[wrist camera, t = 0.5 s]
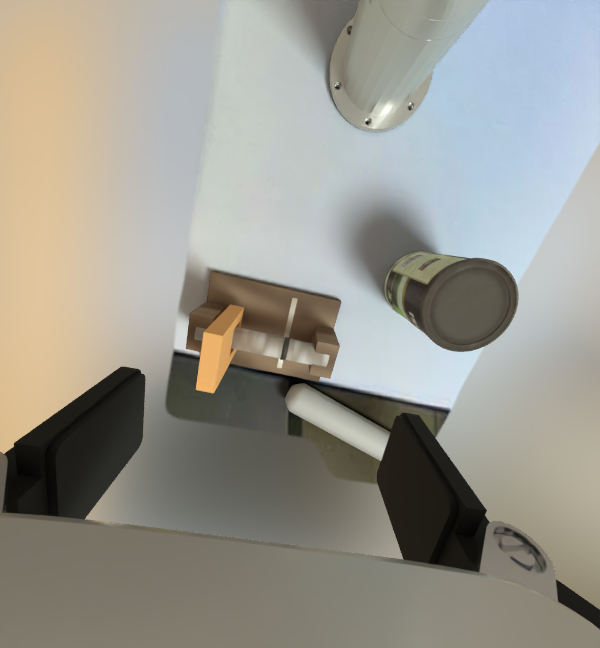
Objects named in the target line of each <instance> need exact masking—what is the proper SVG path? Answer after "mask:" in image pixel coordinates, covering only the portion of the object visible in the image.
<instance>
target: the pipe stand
mask: <svg viewBox="0 0 600 648" xmlns="http://www.w3.org/2000/svg"><path fill="white" fill-rule="evenodd" d="M230 304H231V305H235V306H240V307H244V311H243V317H242V322H241V328H239V327H235V329H234V333H233V339H232V345H231V348H232V349H236V350H237V351H236V353H235V354H234V356H233V358H232V360H231V362H230V363H231V364H236V365H241V366H246V367H251V368H255V369H260V370H265V371H270V372H275V373H280V374H285V375H289V376H294V377H299V378H304V379H309V380H314V381H319V379H320V377H325V378H330V377H331V374H332V371H333V367H334V364H335V360H336V357H337V354H338V350H339V347H340V345H339V343H338V340H337V337H336V334H335V332H334V326H335V323H336V319H337V315H338V312H339V308H340V305H341V301H340V300H337V299H332V298H328V297H324V296H319V295H315V294H311V293H306V292H302V291H297V290H293V289H289V288H284V287H280V286H276V285H271V284H267V283H262V282H258V281H254V280H249V279H245V278H240V277H236V276H232V275H227V274H223V273H219V272H214V271H213V272H211V274H210V282H209V289H208V297H207V302H205V303H204V304H203V305H201V306H200V307H198V308H197V309H196V310H194V311H193V312H192V313H190V318H189V326H188V335H187V343H186V349H190V350H194V351H199V352H200V356H201V348H202V341H203V334H204V331H205V330H206V329H207V328H208V327H209V326H210V325H211V324H212V323H213V322H214V321H215V320H216V319H217V318H218V317H219V316H220V315H221V314H222V313H223V312H224V311H225V310H226V308H227V307H228V306H229V305H230ZM200 356H199V357H200Z"/></svg>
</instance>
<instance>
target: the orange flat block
mask: <svg viewBox="0 0 600 648" xmlns="http://www.w3.org/2000/svg"><path fill="white" fill-rule="evenodd" d="M243 311H244V307H240V306H235V305H231V304H230V305H229V306H228V307H227V308H226V310H225V311H224V312H223V313H222V314H221V315H220V316H219V317H218V318H217V319H216V320H215V321H214V322H213V323H212V324H211V325H210V326H209V327H208V328H207V329H206V330H205V331H204V334H203V341H202V348H201V356H200V363H199V370H198V378H197V385H196V390H200V391H205V392H210V393H214V392H215V390H216V388H217V386H218V384H219V383H220V381H221V379H222V377H223V375H224V373H225V371H226V369H227V368H228V366H229V364H230V362H231V360H232V358H233V356H234V354H235V353H236V351H237V350H236V349H232V348H231V345H232V339H233V333H234V329H235V327H239V328H241V322H242V317H243Z"/></svg>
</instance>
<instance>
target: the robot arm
mask: <svg viewBox="0 0 600 648" xmlns="http://www.w3.org/2000/svg"><path fill="white" fill-rule="evenodd" d="M489 1H490V0H359V3H358V7H357V11H356V15H355V16H354V17H353V18H352V19H351V20H350V21H349V22H348V23H347V24H346V25H345V27H344V28H343V30H342V31H341V32H340V34H339V37H338V39H337V41H336V43H335V46H334V49H333V52H332V56H331V62H330V71H329V80H330V89H331V93H332V97H333V100H334V102H335V104H336V106H337V109H338V110H339V111H340V113H341V114H342V116H343V117H344V118H345V119H346V120H347V121H348V122H349V123H350V124H352V125H354V126H355V127H357V128H359V129H361V130H364V131H368V132H383V131H387V130H390V129H393V128H395V127H397V126H399V125H400V124H402V123H404V122H405V121H406V120H407V119H408V118H409V117H410V116H411V115H412V114H413V113H414V112H415V111H416V110H417V109H418V107H419V106H420V104H421V103H422V101H423V100H424V98H425V96H426V93H427V91H428V89H429V86H430V83H431V79H432V73H433V69H434V68H435V67H436V66H437V64H438V63H439V62H440V61H441V60H442V58H443V57H444V56H445V55H446V53H447V52H448V51H449V50H450V49H451V47H452V46H453V45H454V44H455V42H456V41H457V40H458V39H459V38H460V36H461V35H462V34H463V33H464V31H465V30H466V29H467V28H468V27H469V25H470V24H471V23H472V22H473V21H474V19H475V18H476V17H477V16H478V14H479V13H480V12H481V11H482V9H483V8H484V7H485V6H486V4H487V3H488V2H489ZM348 33H350V35H349V34H348ZM336 87H338V88H339V90H337V89H335V88H336ZM408 107H409V108H410V110H408ZM365 122H368V123H369V125H366V124H365ZM144 396H145V375H144V374H141V371H140V370H139V369H135V368H129V367H120V368H119V369H117V370H116V371H114V372H113V373H112V374H110V375H109V376H107V377H106V378H105V379H103V380H102V381H101V382H99V383H98V384H96V385H95V386H94V387H92V388H91V389H89V390H88V391H86V392H85V393H84V394H82V395H81V396H79V397H78V398H77V399H75V400H74V401H72V402H71V403H70V404H68V405H67V406H65V407H64V408H63V409H61V410H60V411H58V412H57V413H56V414H54V415H53V416H51V417H50V418H49V419H47V420H46V421H44V422H43V423H42V424H40V425H39V426H37V427H36V428H35V429H33V430H32V431H31V432H29V433H28V434H26V435H25V436H23V437H22V438H21V439H19V440H18V441H16V442H15V443H14V447H13V448H11V449H10V450H9V451H7V452H6V453H5V454H3V453H2V452H0V648H600V610H599V609H598V608H596V607H595V606H593V605H592V604H591V603H589V602H588V601H586V600H585V599H584V598H582V597H581V596H579V595H578V594H576V593H575V592H574V591H572V590H571V589H569V588H568V587H566V586H565V585H564V584H562V583H561V582H559V581H557V580H556V577H555V570H554V567H553V564H552V562H551V560H550V559H549V557H548V555H547V554H546V553H545V551H544V550H543V549H542V548H541V547H540V546H539V545H538V544H537V543H536V542H535V541H534V540H533V539H532V538H531V537H529V536H528V535H527V534H525V533H524V532H522V531H521V530H519V529H518V528H515V527H514V526H512V525H510V524H507V523H504V522H501V521H493V522H489V521H488V520H487V518H486V516H485V513H486V511H487V510H486V509H485V507H484V506H483V505H482V503H481V502H480V501H479V499H478V498H477V496H476V495H475V494H474V492H473V490H472V489H471V488H470V486H469V485H468V484H467V482H466V481H465V479H464V478H463V477H462V475H461V474H460V473H459V471H458V469H457V468H456V467H455V465H454V464H453V462H452V461H451V460H450V458H449V457H448V456H447V454H446V453H445V452H444V450H443V448H442V447H441V446H440V444H439V443H438V441H437V440H436V439H435V437H434V436H433V434H432V433H431V432H430V430H429V429H428V427H427V426H426V425H425V423H424V422H423V420H422V419H421V417H420V416H419V415H415V414H409V413H401V415H400V416H396V418H395V420H394V423H393V426H392V429H391V432H390V435H389V439H388V442H387V445H386V448H385V451H384V454H383V457H382V460H381V463H380V466H379V469H378V472H377V482H378V486H379V489H380V492H381V495H382V497H383V500H384V503H385V506H386V509H387V512H388V515H389V518H390V521H391V524H392V527H393V530H394V533H395V536H396V538H397V541H398V544H399V547H400V550H401V553H402V556H403V559H404V560H402V559H395V558H388V557H380V556H372V555H365V554H358V553H350V552H343V551H335V550H328V549H321V548H313V547H305V546H298V545H290V544H282V543H274V542H267V541H266V542H265V541H259V540H251V539H242V538H235V537H227V536H219V535H211V534H203V533H195V532H187V531H178V530H170V529H161V528H154V527H145V526H137V525H129V524H120V523H112V522H104V521H94V520H85V518H86V516H87V515H88V514H89V513H90V511H91V510H92V508H93V507H94V506H95V505H96V503H97V502H98V501H99V499H100V498H101V497H102V495H103V494H104V493H105V491H106V490H107V489H108V487H109V486H110V485H111V484H112V482H113V481H114V480H115V478H116V477H117V476H118V474H119V473H120V471H121V470H122V469H123V468H124V467H125V465H126V464H127V463H128V461H129V460H130V459H131V457H132V456H133V455H134V453H135V452H136V451H137V449H138V448H139V446H140V444H141V442H142V438H143V417H144Z"/></svg>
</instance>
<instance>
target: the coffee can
mask: <svg viewBox="0 0 600 648" xmlns="http://www.w3.org/2000/svg"><path fill="white" fill-rule="evenodd" d="M384 291H385V297H386V300H387V302H388V304H389V305H390V306H391V308H392V309H393V310H395V311H396V312H397V313H399V314H401V315H402V316H403V317H404V318H406V319H407V320H408V321H410V322H411V323H412V324H413V325H415V326H416V327H417V328H418V329H420V330H421V331H422V332H424V333H425V334H426V335H427V336H428V337H429V338H430V339H431V340H432V341H433V342H434V343H436V344H437V345H439V346H440V347H442V348H445V349H447V350H451V351H457V352H465V351H472V350H476V349H479V348H481V347H484V346H486V345H488V344H490V343H491V342H493V341H494V340H496V339H497V338H498V337H499V336H500V335H501V334H502V333H503V332H504V331H505V330H506V329H507V327H508V326H509V325H510V323H511V321H512V320H513V318H514V315H515V313H516V310H517V305H518V288H517V284H516V281H515V279H514V278H513V276H512V274H511V273H510V272H509V271H508V270H507V269H506V268H505V267H504V266H503V265H501V264H499V263H497V262H495V261H492V260H488V259H482V258H465V257H457V256H450V255H442V254H435V253H431V252H426V251H418V252H412V253H410V254H407V255H405V256H403V257H402V258H400V259H399V260H398V261H397V262H396V263H395V264H394V265H393V266H392V267H391V268H390V270H389V272H388V274H387V276H386V280H385V285H384Z"/></svg>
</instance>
